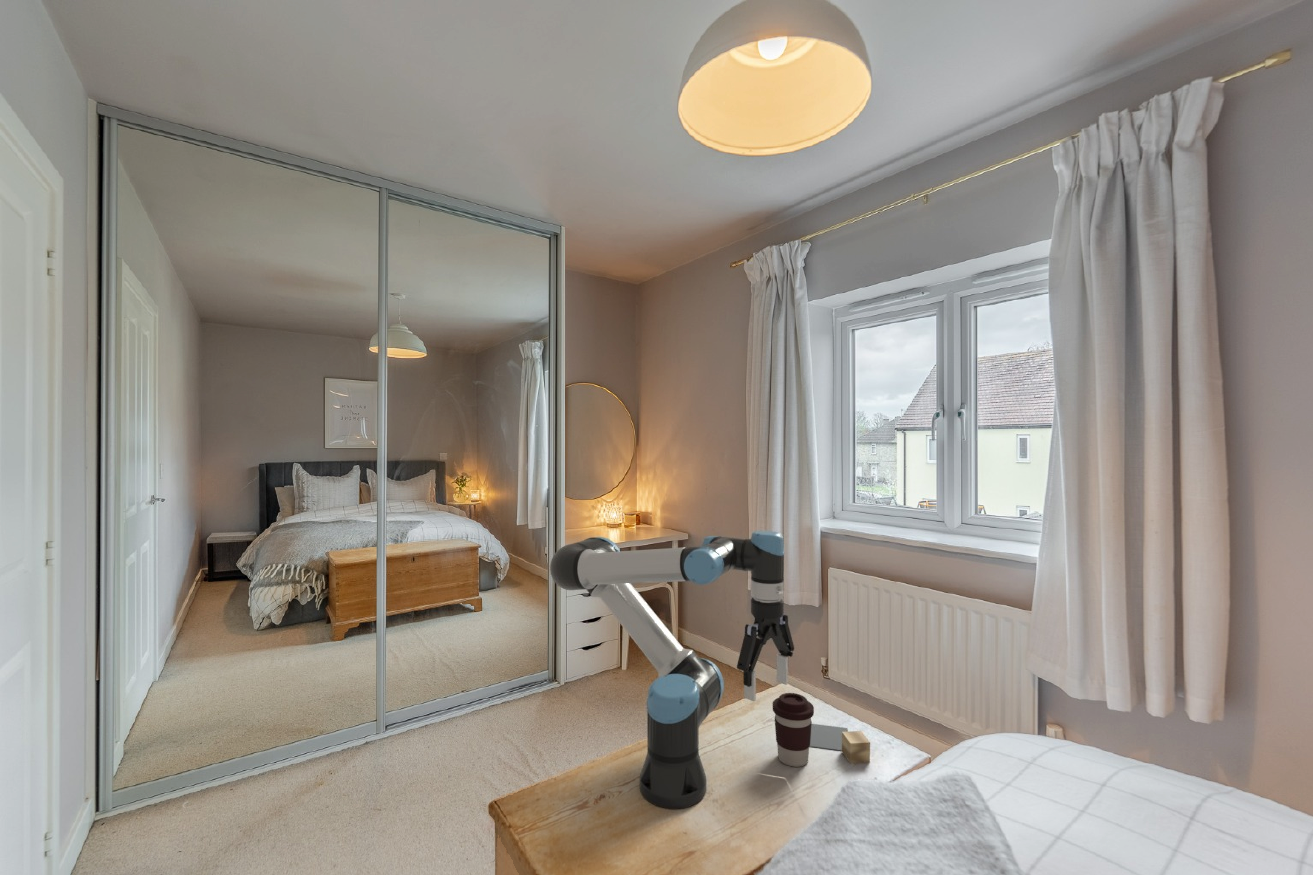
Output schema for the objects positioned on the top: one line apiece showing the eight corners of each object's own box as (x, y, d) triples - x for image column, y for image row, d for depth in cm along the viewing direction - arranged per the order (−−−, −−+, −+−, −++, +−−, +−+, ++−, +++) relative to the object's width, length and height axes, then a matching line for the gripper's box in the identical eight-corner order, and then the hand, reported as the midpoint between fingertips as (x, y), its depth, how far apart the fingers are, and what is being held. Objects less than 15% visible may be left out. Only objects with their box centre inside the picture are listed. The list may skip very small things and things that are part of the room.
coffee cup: (773, 768, 136) (773, 706, 136) (771, 746, 146) (771, 688, 146) (816, 772, 134) (815, 709, 134) (811, 750, 144) (811, 691, 144)
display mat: (801, 745, 146) (801, 744, 146) (802, 723, 158) (802, 722, 158) (850, 752, 143) (850, 751, 143) (847, 728, 155) (847, 727, 155)
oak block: (850, 763, 138) (850, 743, 138) (841, 751, 143) (842, 731, 143) (869, 762, 139) (870, 742, 139) (860, 750, 144) (861, 730, 144)
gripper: (748, 612, 122) (747, 713, 122) (809, 592, 138) (808, 680, 138) (721, 604, 127) (720, 701, 127) (783, 586, 144) (782, 671, 144)
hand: (766, 690), depth 133 cm, fingers open, 12 cm apart
